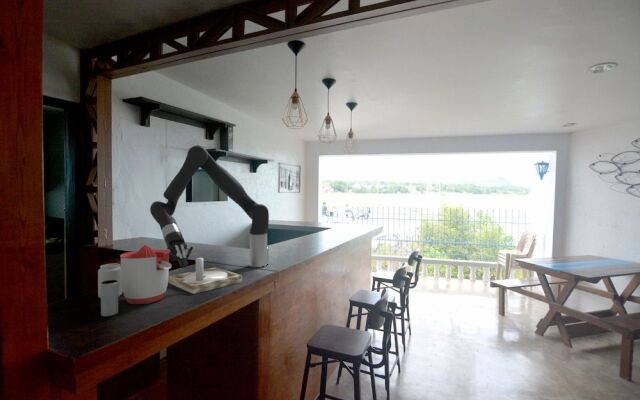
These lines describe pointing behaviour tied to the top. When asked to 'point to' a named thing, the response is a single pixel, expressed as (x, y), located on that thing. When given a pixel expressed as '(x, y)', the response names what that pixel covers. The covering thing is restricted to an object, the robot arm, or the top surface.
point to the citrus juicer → (144, 275)
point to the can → (109, 276)
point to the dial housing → (197, 288)
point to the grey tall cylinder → (109, 297)
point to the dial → (203, 274)
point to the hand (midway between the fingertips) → (185, 266)
